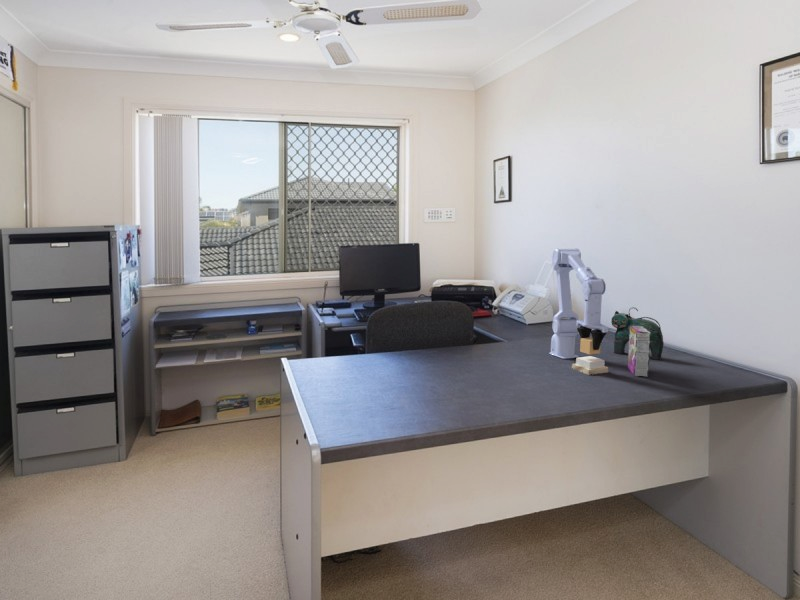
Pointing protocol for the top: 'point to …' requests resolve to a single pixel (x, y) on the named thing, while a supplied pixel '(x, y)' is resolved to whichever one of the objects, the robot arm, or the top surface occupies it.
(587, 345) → the tan cube
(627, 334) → the ceramic cat
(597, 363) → the off-white slab
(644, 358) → the candy bar box
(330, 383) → the top surface
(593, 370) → the maple base slab
